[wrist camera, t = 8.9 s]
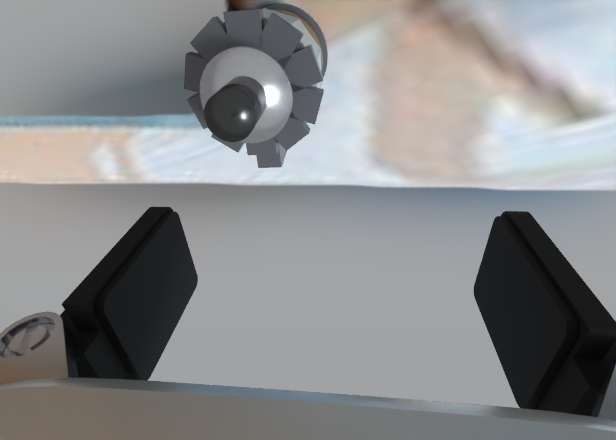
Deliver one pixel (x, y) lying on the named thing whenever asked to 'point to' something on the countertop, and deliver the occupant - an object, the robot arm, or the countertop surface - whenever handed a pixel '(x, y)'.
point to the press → (285, 49)
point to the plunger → (245, 95)
